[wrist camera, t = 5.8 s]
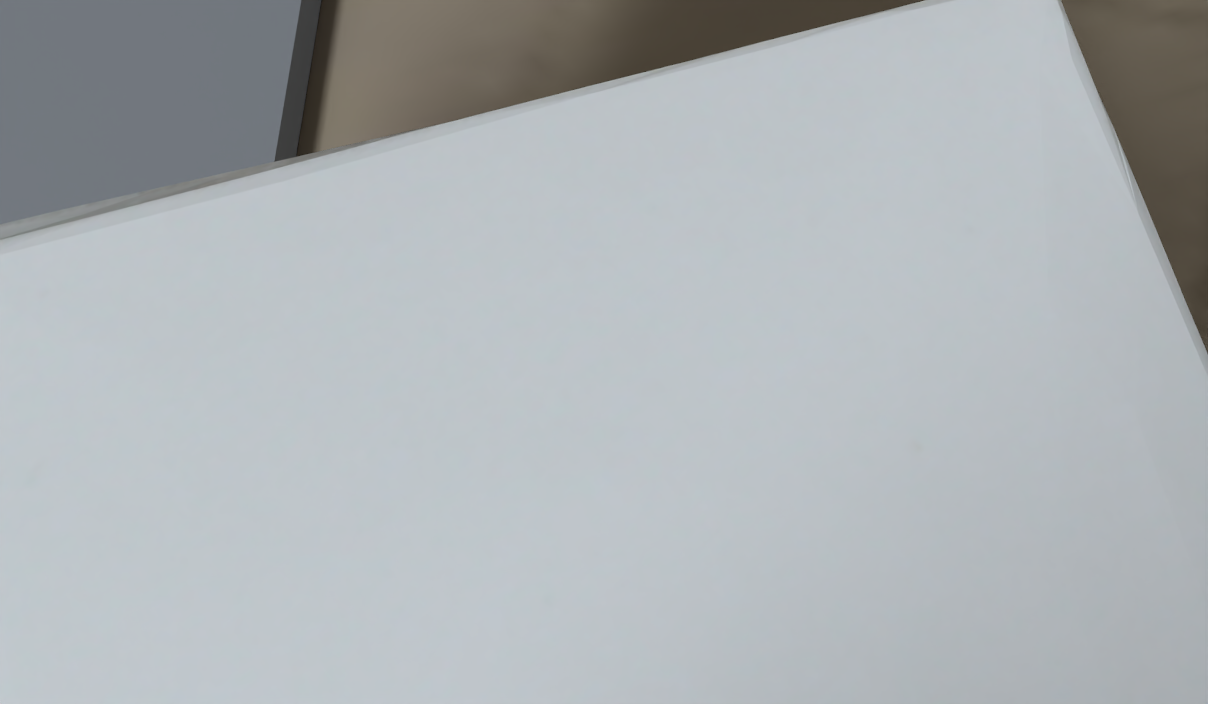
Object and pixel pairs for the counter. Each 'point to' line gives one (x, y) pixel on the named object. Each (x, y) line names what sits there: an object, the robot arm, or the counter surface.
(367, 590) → the supplement box
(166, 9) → the rubber mat
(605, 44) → the counter surface
